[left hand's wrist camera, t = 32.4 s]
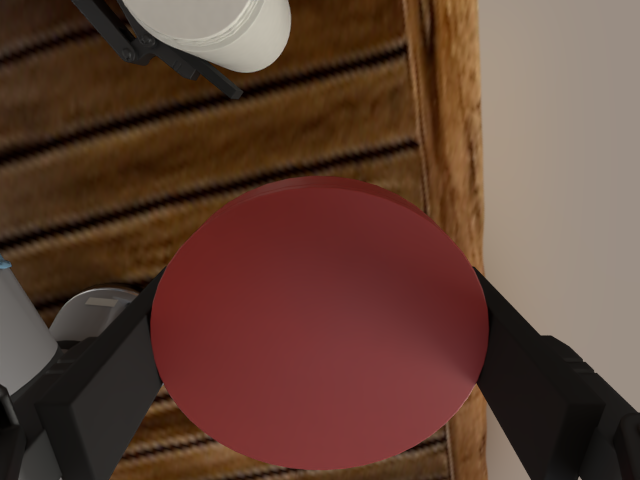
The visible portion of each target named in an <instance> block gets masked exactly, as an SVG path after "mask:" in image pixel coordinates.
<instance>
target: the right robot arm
mask: <svg viewBox="0 0 640 480" xmlns="http://www.w3.org/2000/svg"><path fill="white" fill-rule="evenodd" d="M71 1H72V2H73V3H74V4H75V5H76V7H77V8H78V9H79V10H80V11H81V12H82V14H83V15H84V16H85V17H86V18H87V19H88V20H89V22H90V23H91V24H92V25H93V26H94V27H95V29H96V30H97V31H98V32H99V33H100V34H101V35H102V37H103V38H104V39H105V40H106V41H107V42H108V44H109V45H110V46H111V47H112V48H113V49H114V50H115V52H116V53H117V54H118V55H119V56H120V57H121V58H122V59H123V60H124V61H126V62H129V63H134V64H138V65H142V66H143V65H147V64H148V63H149V60H150V59H151V58H153V57H155V56H158V57H159V58H160V59H161V60H163V61H164V62H165V63H166V64H168V65H169V66H170V67H171V68H173V69H174V70H175V71H176V72H177V73H179V74H180V75H181V76H182V77H184V78H187V79H191V80H197V78H198V77H199V75H200V74H202V75H203V76H204V77H205V78H206V79H208V80H209V81H210V82H211V83H212V84H214V85H215V86H216V87H217V88H219V89H220V90H221V91H222V92H223V93H225V94H226V95H227V96H228V97H229V98H231V99H239V98H240V96H241V95H242V93H243V91H242V90H241V89H240V88H238V87H237V86H236V85H235V84H234V83H232V82H231V81H230V80H229V79H228V78H226V77H225V76H224V75H223V74H222V73H220V72H219V71H218V70H217V69H216V68H215V67H213V66H212V65H211V64H210V63H209V62H207V61H206V60H204V59H202V58H199V57H197V56H194V55H192V54H189V53H187V52H184V51H182V50H179V49H177V48H174V47H172V46H170V45H168V44H165V43H163V42H162V41H160V40H159V39H157V38H155V37H154V36H153V35H152V34H150V33H149V32H148V31H147V30H145V29H144V28H143V27H142V26H141V25H140V24H139V23H138V22H137V20H136V19H135V18H134V17H133V15H132V14H131V13H130V11H129V10H128V8H127V7H126V6H125V5H124V2H123V1H122V0H117V2H118V3H119V5H120V7H121V9H122V11H123V12H124V14H125V16H126V18H127V20H128V21H129V23H130V25H131V27H132V29H133V31H134V32H135V34H136V36H137V38H135V37H134V36H133V35H132V34H131V32H130V31H129V30H128V29H127V28H126V26H125V25H124V24H123V23H122V22H121V20H120V19H119V18H118V17H117V16H116V14H115V13H114V12H113V11H112V10H111V9H110V7H109V6H108V5H107V4H106V3H105V1H104V0H71Z"/></svg>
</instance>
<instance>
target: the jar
mask: <svg viewBox="0 0 640 480" xmlns="http://www.w3.org/2000/svg"><path fill="white" fill-rule="evenodd" d="M122 1H123V2H124V5H125V6H126V7H127V8H128V10H129V11H130V13H131V14H132V15H133V17H134V18H135V19H136V20H137V22H138V23H139V24H140V25H141V26H142V27H143V28H144V29H145V30H147V31H148V32H149V33H150V34H152V35H153V36H154V37H155V38H157V39H159V40H160V41H162V42H163V43H165V44H168V45H170V46H172V47H174V48H177V49H179V50H182V51H184V52H187V53H189V54H192V55H194V56H197V57H199V58H202V59H204V60H207V61H209V62H212V63H214V64H217V65H220V66H222V67H225V68H227V69H230V70H233V71H236V72H245V73H248V72H255V71H259V70H261V69H264V68H266V67H267V66H269V65H270V64H272V63H273V62H274V61H275V60H276V59H277V58H278V57H279V56H280V54H281V53H282V51H283V49H284V47H285V45H286V43H287V40H288V38H289V33H290V27H291V14H290V7H289V3H288V0H122Z"/></svg>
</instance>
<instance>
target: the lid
mask: <svg viewBox="0 0 640 480" xmlns="http://www.w3.org/2000/svg"><path fill="white" fill-rule="evenodd" d="M150 338H151V344H152V349H153V354H154V359H155V363H156V367H157V370H158V372H159V375H160V378H161V380H162V381H163V383H164V385H165V387H166V389H167V391H168V393H169V394H170V396H171V397H172V399H173V400H174V401H175V403H176V404H177V406H178V407H179V408H180V409H181V410H182V412H183V413H184V414H185V415H186V416H187V417H188V418H189V419H190V420H191V421H192V422H193V423H194V424H195V425H196V426H198V427H199V428H200V429H201V430H202V431H203V432H204V433H206V434H207V435H209V436H210V437H212V438H213V439H215V440H216V441H218V442H219V443H221V444H223V445H224V446H226V447H228V448H230V449H232V450H234V451H236V452H238V453H240V454H243V455H245V456H248V457H250V458H253V459H256V460H259V461H262V462H266V463H269V464H273V465H278V466H283V467H288V468H296V469H306V470H332V469H345V468H351V467H356V466H362V465H366V464H370V463H374V462H377V461H381V460H384V459H386V458H389V457H392V456H394V455H397V454H399V453H401V452H403V451H405V450H407V449H409V448H411V447H413V446H415V445H417V444H418V443H420V442H421V441H423V440H425V439H426V438H428V437H429V436H431V435H432V434H433V433H435V432H436V431H437V430H438V429H439V428H441V427H442V426H443V425H444V424H445V423H446V422H447V421H448V420H449V419H450V418H451V417H452V416H453V415H454V414H455V413H456V412H457V411H458V410H459V408H460V407H461V406H462V405H463V403H464V402H465V401H466V399H467V398H468V397H469V395H470V393H471V391H472V389H473V388H474V386H475V384H476V382H477V380H478V378H479V375H480V373H481V370H482V368H483V365H484V361H485V357H486V353H487V348H488V338H489V319H488V308H487V304H486V300H485V296H484V293H483V289H482V287H481V284H480V282H479V280H478V277H477V275H476V273H475V271H474V269H473V267H472V266H471V264H470V263H469V261H468V260H467V258H466V257H465V255H464V253H463V252H462V251H461V250H460V249H459V248H458V246H457V245H456V244H455V243H454V242H453V241H452V240H451V239H450V237H449V236H448V235H447V234H446V233H445V232H444V231H443V230H442V229H441V228H440V227H439V226H438V225H437V224H436V223H435V222H434V221H433V220H432V219H431V218H430V217H428V216H427V215H426V214H425V213H424V212H422V211H421V210H420V209H419V208H418V207H416V206H415V205H413V204H412V203H410V202H409V201H407V200H405V199H404V198H402V197H401V196H399V195H397V194H395V193H393V192H390V191H388V190H386V189H384V188H381V187H379V186H376V185H373V184H369V183H366V182H362V181H359V180H354V179H348V178H341V177H335V176H307V177H298V178H289V179H285V180H281V181H277V182H273V183H269V184H266V185H263V186H261V187H258V188H256V189H253V190H251V191H248V192H246V193H244V194H243V195H241V196H239V197H237V198H235V199H234V200H232V201H230V202H228V203H227V204H226V205H224V206H223V207H222V208H221V209H219V210H218V211H217V212H215V213H214V214H213V215H212V216H211V217H210V218H209V219H208V220H207V221H206V222H205V223H204V224H203V225H202V226H201V227H200V228H199V229H198V230H197V231H196V232H195V233H194V234H193V235H192V236H191V237H190V238H189V239H188V240H187V241H186V242H185V243H184V244H183V245H182V246H181V247H180V248H179V250H178V251H177V253H176V254H175V255H174V257H173V258H172V260H171V261H170V263H169V264H168V265H167V267H166V269H165V272H164V274H163V276H162V278H161V280H160V282H159V284H158V287H157V290H156V294H155V297H154V300H153V304H152V312H151V319H150Z"/></svg>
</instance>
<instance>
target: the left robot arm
mask: <svg viewBox="0 0 640 480" xmlns="http://www.w3.org/2000/svg"><path fill="white" fill-rule="evenodd" d="M9 267H12V265H11V263H10V262H9V261H6V260H4V259H3V257H2V256H1V255H0V480H109V478H110V476H111V475H112V473H113V471H114V469H115V468H116V466H117V464H118V462H119V461H120V459H121V457H122V455H123V453H124V452H125V450H126V448H127V446H128V445H129V443H130V441H131V439H132V438H133V436H134V434H135V432H136V430H137V429H138V427H139V425H140V423H141V422H142V420H143V418H144V416H145V415H146V413H147V411H148V409H149V407H150V406H151V404H152V402H153V400H154V399H155V397H156V395H157V393H158V392H159V390H160V388H161V387H162V386H163V385H164V383H163V381H162V380H161V378H160V375H159V372H158V370H157V367H156V363H155V359H154V354H153V349H152V344H151V338H150V319H151V312H152V304H153V300H154V297H155V294H156V290H157V287H158V284H159V282H160V280H161V278H162V276H163V274H164V272H165V269H166V267H165V268H164V269H163V270H162V271H161V272H160V273H159V274H158V275H157V276H156V277H155V278H154V279H153V280H152V281H151V282H150V283H149V284H148V285H147V286H146V287H145V288H144V290H143V289H141V288H138V287H135V286H131V285H127V284H120V283H105V284H99V285H94V286H92V287H89V288H87V289H84V290H83V291H81V292H80V293H78V294H77V295H76V296H74V297H73V298H72V299H71V300H69V301H68V302H67V303H66V304H65V305H64V306H63V307H62V309H61V310H60V311H59V313H58V314H57V316H56V318H55V320H54V322H53V323H52V325H51V327H50V328H49V329H48V328H47V326H46V324H45V323H44V321H43V320H42V318H41V317H40V315H39V313H38V312H37V310H36V309H35V307H34V306H33V304H32V302H31V301H30V299H29V298H28V296H27V294H26V293H25V291H24V290H23V288H22V287H21V285H20V283H19V282H18V280H17V279H16V277H15V276H14V274H13V272H12V271H11V269H10V268H9ZM473 269H474V271H475V273H476V275H477V277H478V280H479V282H480V284H481V287H482V289H483V293H484V296H485V300H486V304H487V308H488V319H489V338H488V348H487V353H486V357H485V361H484V365H483V368H482V370H481V373H480V375H479V378H478V380H477V382H476V383H477V385H478V387H479V388H480V390H481V392H482V394H483V395H484V397H485V399H486V401H487V403H488V404H489V406H490V408H491V410H492V411H493V413H494V415H495V417H496V418H497V420H498V422H499V424H500V426H501V427H502V429H503V431H504V433H505V434H506V436H507V438H508V440H509V441H510V443H511V445H512V447H513V448H514V450H515V452H516V454H517V456H518V457H519V459H520V461H521V463H522V464H523V466H524V468H525V470H526V472H527V473H528V475H529V477H530V479H531V480H578V477H579V476H580V478H581V479H582V480H640V413H638V412H637V411H636V410H635V409H634V408H633V407H632V406H631V405H630V404H629V403H628V402H626V401H625V400H624V399H623V398H622V397H621V396H620V395H619V394H618V393H617V392H616V391H615V390H614V389H613V388H612V387H611V386H610V385H609V384H608V383H607V382H606V381H605V380H604V379H603V378H602V377H601V376H599V375H598V374H597V373H594V370H593V369H592V368H591V367H590V366H589V365H588V364H587V363H586V362H583V359H582V358H581V357H580V356H579V355H578V354H577V353H576V352H575V351H574V350H572V349H571V348H570V347H569V346H568V345H566V344H564V343H563V342H561V341H559V340H558V339H556V338H554V337H553V336H541V335H540V334H539V333H538V332H537V331H536V330H535V329H534V328H533V327H532V326H531V325H530V324H529V323H528V322H527V321H526V320H525V319H524V318H523V317H522V316H521V315H520V314H519V313H518V312H517V311H516V310H515V308H514V307H513V306H512V305H511V304H510V303H509V302H508V301H507V300H506V299H505V298H504V297H503V296H502V295H501V294H500V293H499V292H498V291H497V290H496V289H495V288H494V287H493V286H492V285H491V284H490V282H489V281H488V280H487V279H486V278H485V277H484V276H483V275H482V274H481V273H480V272H479V271H478V270H477V269H476V268H475V267H473Z"/></svg>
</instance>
